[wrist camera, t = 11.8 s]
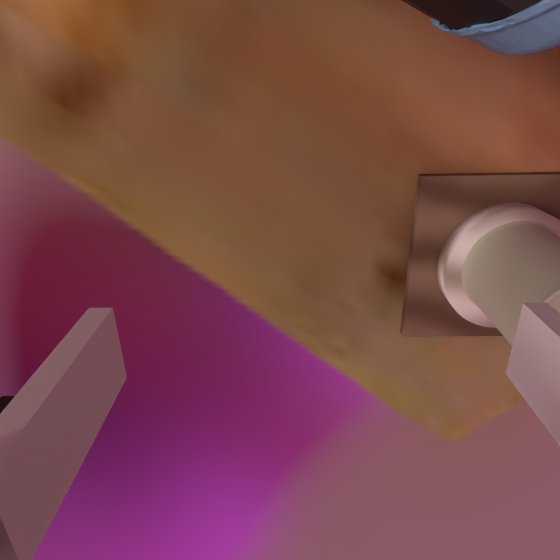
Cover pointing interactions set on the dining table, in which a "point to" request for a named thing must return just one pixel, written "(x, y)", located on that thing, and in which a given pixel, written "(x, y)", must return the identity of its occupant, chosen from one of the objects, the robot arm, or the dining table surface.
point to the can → (513, 272)
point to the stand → (465, 242)
